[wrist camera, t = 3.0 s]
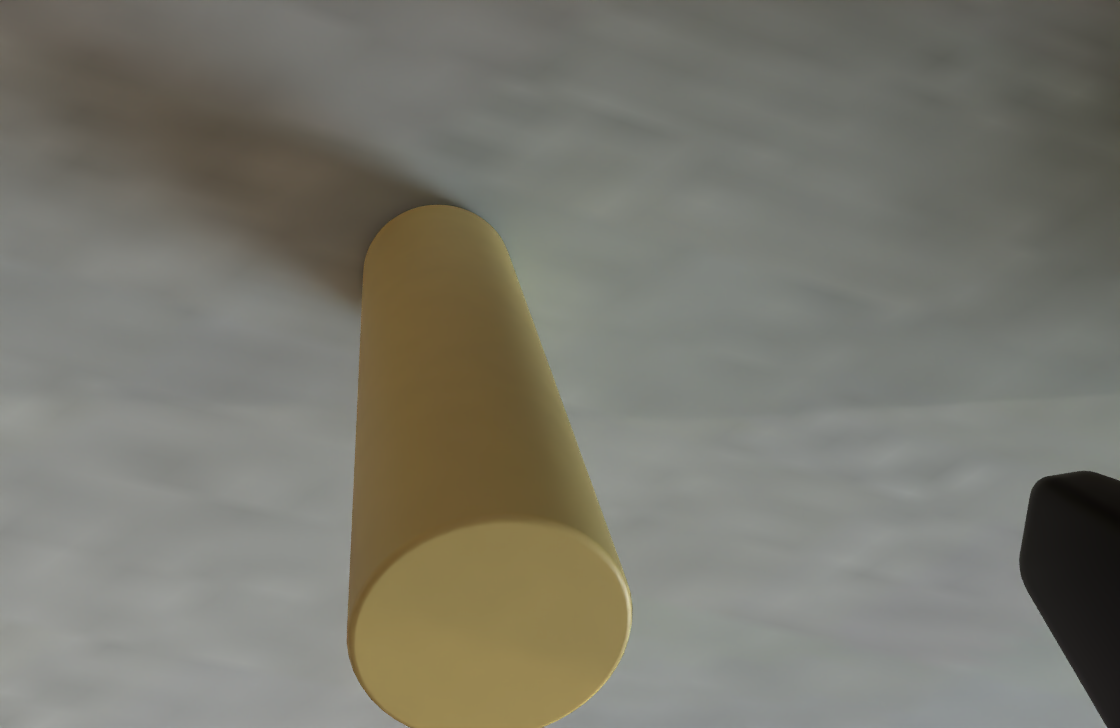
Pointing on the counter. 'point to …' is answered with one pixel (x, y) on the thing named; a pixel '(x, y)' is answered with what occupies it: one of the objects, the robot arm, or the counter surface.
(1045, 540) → the robot arm
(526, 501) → the tan solid cylinder
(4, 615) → the counter surface
